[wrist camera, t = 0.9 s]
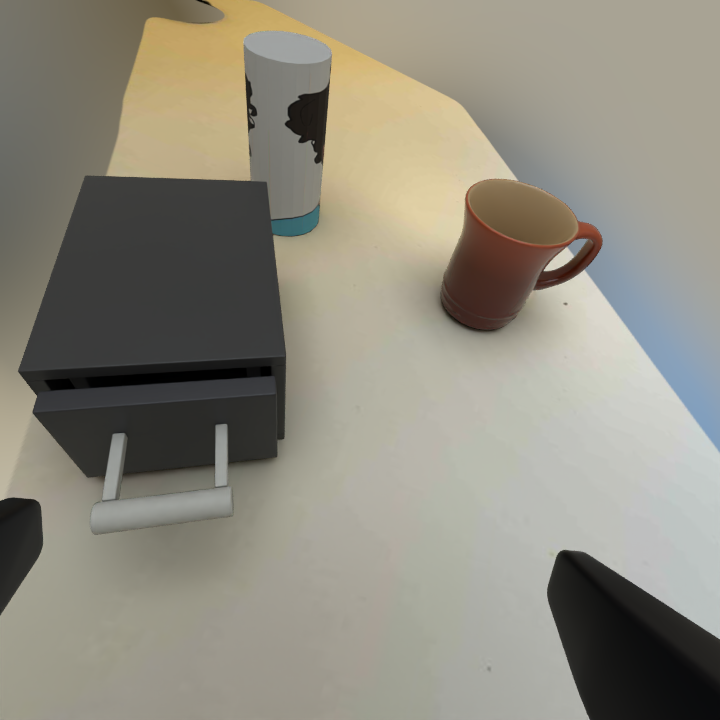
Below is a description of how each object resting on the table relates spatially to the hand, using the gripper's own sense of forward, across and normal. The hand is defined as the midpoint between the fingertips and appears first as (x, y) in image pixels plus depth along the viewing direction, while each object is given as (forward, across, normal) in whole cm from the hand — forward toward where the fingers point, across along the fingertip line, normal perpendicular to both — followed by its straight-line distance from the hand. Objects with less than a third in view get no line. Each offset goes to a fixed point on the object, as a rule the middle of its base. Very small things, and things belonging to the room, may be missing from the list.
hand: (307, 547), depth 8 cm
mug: (+34, -14, -1) cm, 37 cm away
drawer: (+22, +9, +6) cm, 25 cm away
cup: (+41, +6, -7) cm, 42 cm away
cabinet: (+26, +10, +4) cm, 28 cm away
